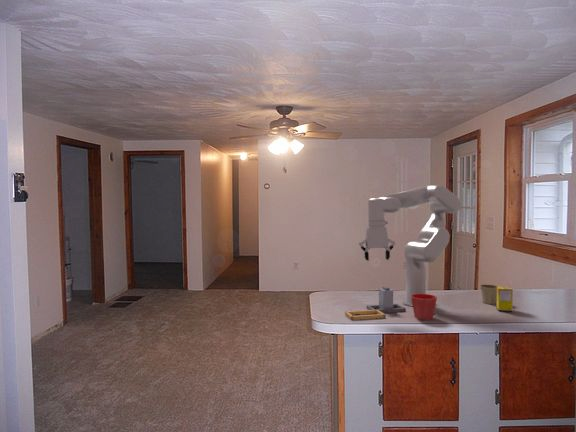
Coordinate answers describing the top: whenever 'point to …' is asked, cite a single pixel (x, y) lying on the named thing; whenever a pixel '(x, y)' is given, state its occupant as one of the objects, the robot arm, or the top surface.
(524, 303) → the top surface
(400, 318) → the top surface
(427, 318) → the flower pot
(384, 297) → the plug
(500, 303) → the supplement box
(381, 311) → the tan grey double frame
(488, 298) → the flower pot
